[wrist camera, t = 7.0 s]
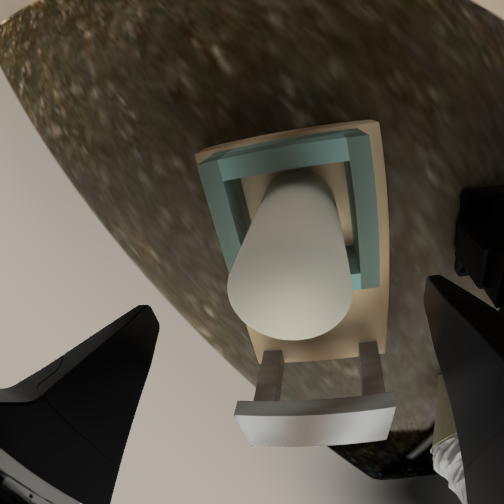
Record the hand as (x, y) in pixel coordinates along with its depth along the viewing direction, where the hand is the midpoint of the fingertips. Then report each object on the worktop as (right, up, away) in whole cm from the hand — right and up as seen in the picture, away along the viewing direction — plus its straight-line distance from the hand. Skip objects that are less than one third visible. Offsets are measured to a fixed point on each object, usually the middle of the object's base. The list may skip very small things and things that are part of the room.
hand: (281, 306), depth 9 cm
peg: (+2, +4, +7) cm, 9 cm away
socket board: (+3, +2, +11) cm, 11 cm away
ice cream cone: (+18, -11, +15) cm, 26 cm away
